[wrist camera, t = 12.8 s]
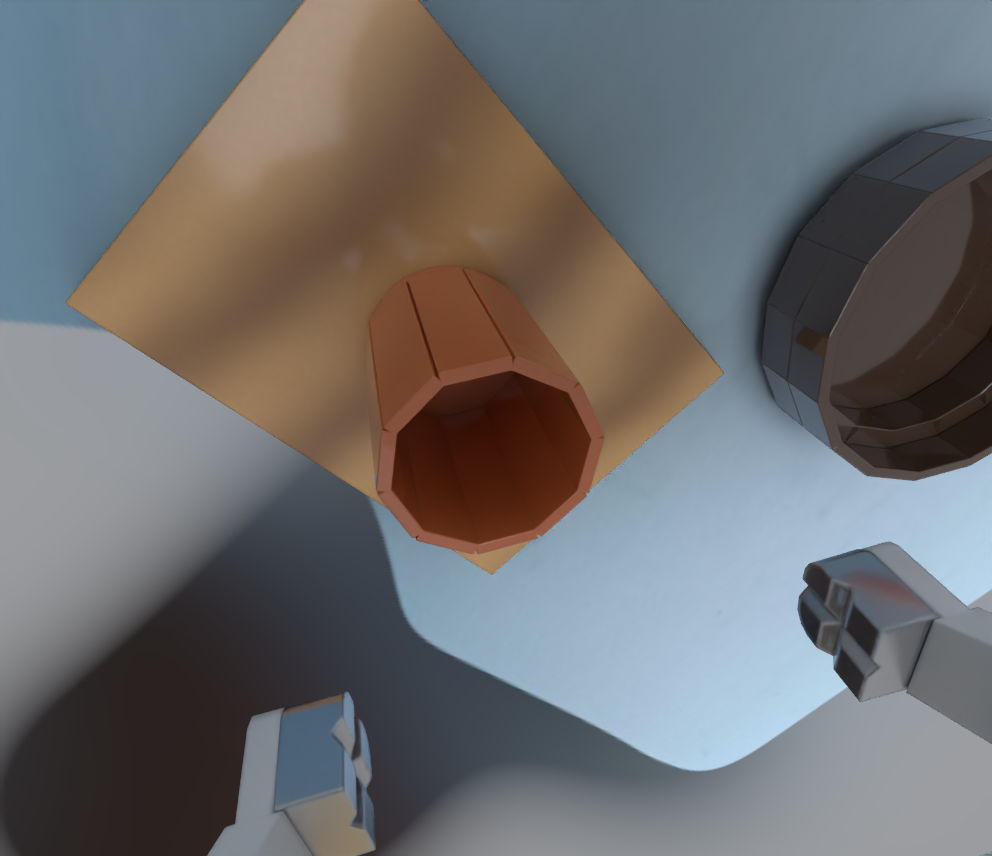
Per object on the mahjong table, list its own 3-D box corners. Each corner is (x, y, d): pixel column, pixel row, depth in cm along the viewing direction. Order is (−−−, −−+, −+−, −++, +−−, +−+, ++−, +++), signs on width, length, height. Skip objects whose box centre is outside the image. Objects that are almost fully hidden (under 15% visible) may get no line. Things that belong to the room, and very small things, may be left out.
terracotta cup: (341, 285, 21) (345, 394, 15) (518, 248, 22) (599, 335, 15) (383, 431, 25) (402, 575, 18) (536, 395, 25) (609, 520, 19)
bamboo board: (76, 291, 21) (64, 303, 20) (358, -66, 18) (359, -72, 17) (486, 558, 31) (491, 575, 30) (710, 361, 28) (724, 373, 27)
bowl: (770, 156, 24) (854, 176, 20) (1092, 90, 25) (1226, 98, 21) (743, 456, 31) (799, 512, 27) (991, 392, 33) (1077, 437, 29)
